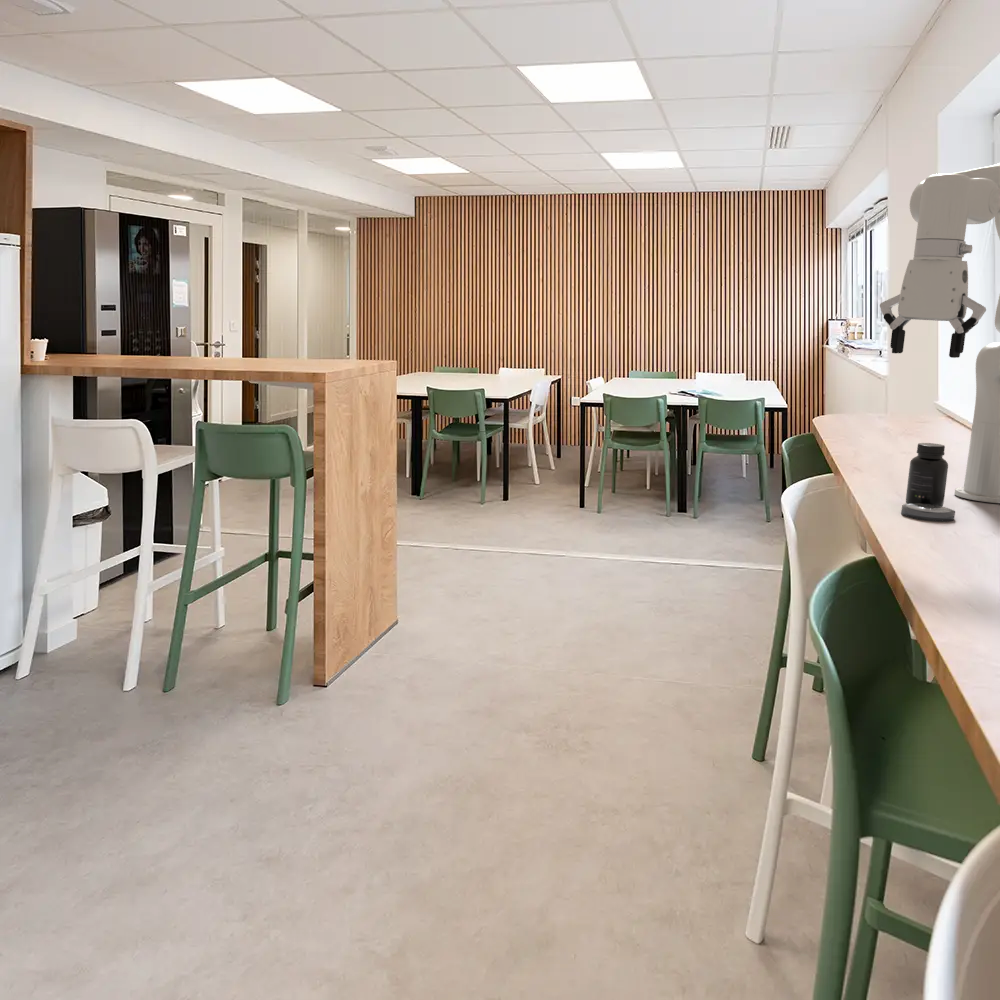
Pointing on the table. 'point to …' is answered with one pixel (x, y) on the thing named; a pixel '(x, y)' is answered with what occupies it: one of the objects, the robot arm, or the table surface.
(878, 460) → the table surface
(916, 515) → the plate
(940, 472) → the supplement bottle
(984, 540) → the table surface
